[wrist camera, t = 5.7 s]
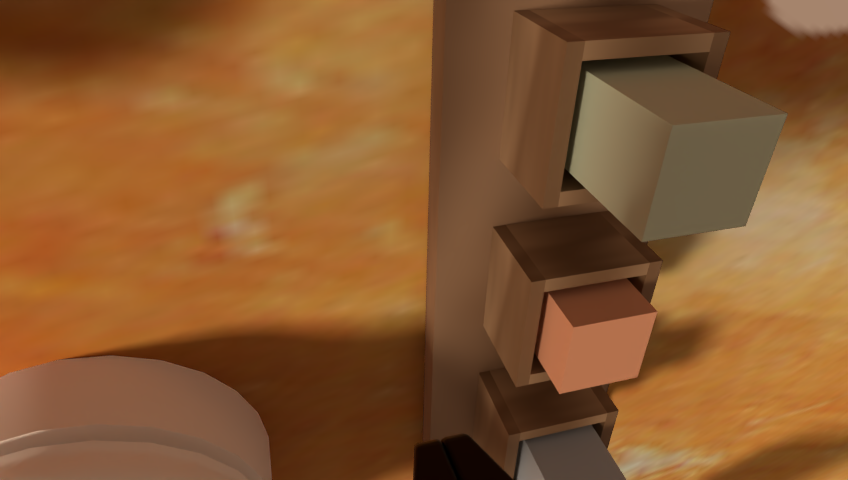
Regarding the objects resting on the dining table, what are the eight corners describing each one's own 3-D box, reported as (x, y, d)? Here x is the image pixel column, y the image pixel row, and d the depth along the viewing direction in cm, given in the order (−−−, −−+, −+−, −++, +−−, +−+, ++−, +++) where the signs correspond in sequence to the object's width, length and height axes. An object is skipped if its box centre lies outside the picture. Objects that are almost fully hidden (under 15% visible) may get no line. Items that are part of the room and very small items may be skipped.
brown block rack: (711, -95, 19) (832, -80, 15) (580, 429, 32) (626, 504, 29) (435, -94, 16) (497, -76, 13) (422, 466, 30) (449, 552, 27)
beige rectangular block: (662, 52, 17) (788, 113, 13) (639, 147, 19) (745, 225, 15) (568, 59, 16) (673, 125, 13) (553, 157, 18) (641, 242, 14)
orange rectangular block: (585, 233, 23) (657, 311, 19) (573, 293, 25) (637, 377, 21) (513, 243, 22) (573, 327, 18) (505, 305, 24) (559, 394, 20)
